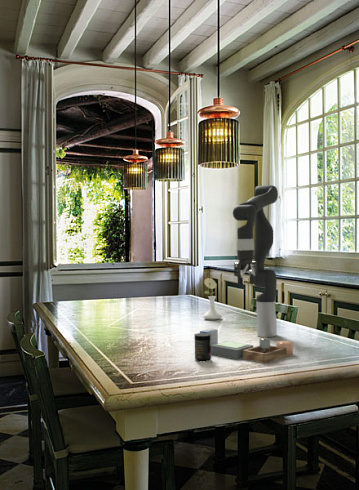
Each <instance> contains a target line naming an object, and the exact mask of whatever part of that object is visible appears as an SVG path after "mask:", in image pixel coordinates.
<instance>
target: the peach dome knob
mask: <svg viewBox="0 0 359 490" xmlns="http://www.w3.org/2000/svg"><path fill="white" fill-rule="evenodd" d="M275 346H276V347H280V348H286V357H292V356H293V355H294V342H293V341H290V340H278V341H275Z"/></svg>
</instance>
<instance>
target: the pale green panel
mask: <svg viewBox="0 0 359 490" xmlns="http://www.w3.org/2000/svg"><path fill="white" fill-rule="evenodd" d="M226 341H227V342H226ZM226 341H223V342H224V343H222V342H219V343H220V344H216V346H221V347H227V348H233V349H239V348H242V347H246V346H248V345H249V344H248V345H246V344H245V343H242V344H240V343H241V342H236V343H234V342H235V341H230V342H228V340H226Z"/></svg>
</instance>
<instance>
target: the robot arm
mask: <svg viewBox="0 0 359 490" xmlns="http://www.w3.org/2000/svg"><path fill="white" fill-rule="evenodd" d="M278 196H279V192H278V188H277V187H276V185H272V184H270V185H257V186H255V189H254V194H253V197H250V198H249V199H248V200H247V201H245V202H242V203H239V204H237V205H236V206H234V208H233V210H232V216H233V218H234V220H236V221H238V222H239V221H241V222H242V221H243V222H244V221H246V223H245V224H244V225H240V226H238V227H237V231H236V234H237V242H236V251H237V252H236V253H237V260H238V261H239V262H234V263H233V266H234V267H233V276H234V277H237V286H239V287H243V285H244V281H243V280H244V274H245V273H248V274H249V284H250V285H254V286H255V287H256V288H264V289H263V293H260V294H258V295H256V334H257V337H261V338H264V337H265V338H273V337H276V336H277V335H278V333H277V327H278V326H277V316H276V296H277V284H278V283H277V279H278V278H277V274H276V272H275V270H274V269H268V268H267V269H265V261H266V259H267V255H268V254H269V252H270V250H271V249H272V247H273V244H274V229H273V228H274V227H272V225H271V223H270V221H269V219H268V218H267V215H266V214H265V211H264V208H265V207H267V206H270V205H272V204H274V203H276V202H277V200H278Z"/></svg>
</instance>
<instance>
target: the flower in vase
mask: <svg viewBox="0 0 359 490" xmlns="http://www.w3.org/2000/svg"><path fill="white" fill-rule="evenodd" d="M203 283H204V285H205V286H206V287H207V290H205V291H204V292H203V294H206V295H210V296H207V297H208V299H209V304H210V308H209V309H208V310H207V311H206V312H205V313H204V315H202V317H203V319H205V320H211V321H213V320H219V319H221V318H222V317H223V316H222V314H221V313H220V312H219V311H218V310H217V309H216V308H215V301H216V298H217V296H215V295H212V294H214V293H215V291H213V292H211V293H210V289H211V290H212V289H215V288H217V283H216V281H215V280H214V279H212V278H210V277H207V278H205V279H204V281H203Z"/></svg>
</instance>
